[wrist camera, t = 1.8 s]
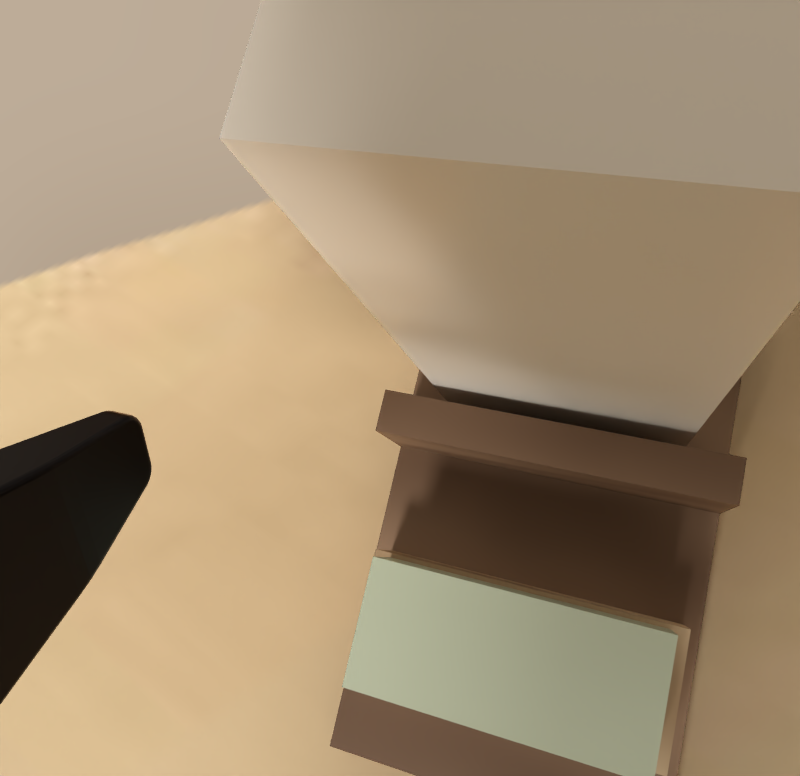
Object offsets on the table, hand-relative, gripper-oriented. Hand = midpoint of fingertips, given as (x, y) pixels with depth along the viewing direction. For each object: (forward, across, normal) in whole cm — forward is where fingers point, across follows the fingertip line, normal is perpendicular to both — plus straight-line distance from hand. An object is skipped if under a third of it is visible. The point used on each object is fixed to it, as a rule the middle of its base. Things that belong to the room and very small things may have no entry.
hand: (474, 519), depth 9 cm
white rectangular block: (+10, 0, +4) cm, 11 cm away
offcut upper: (+5, 0, +8) cm, 9 cm away
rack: (+8, 0, +8) cm, 12 cm away
